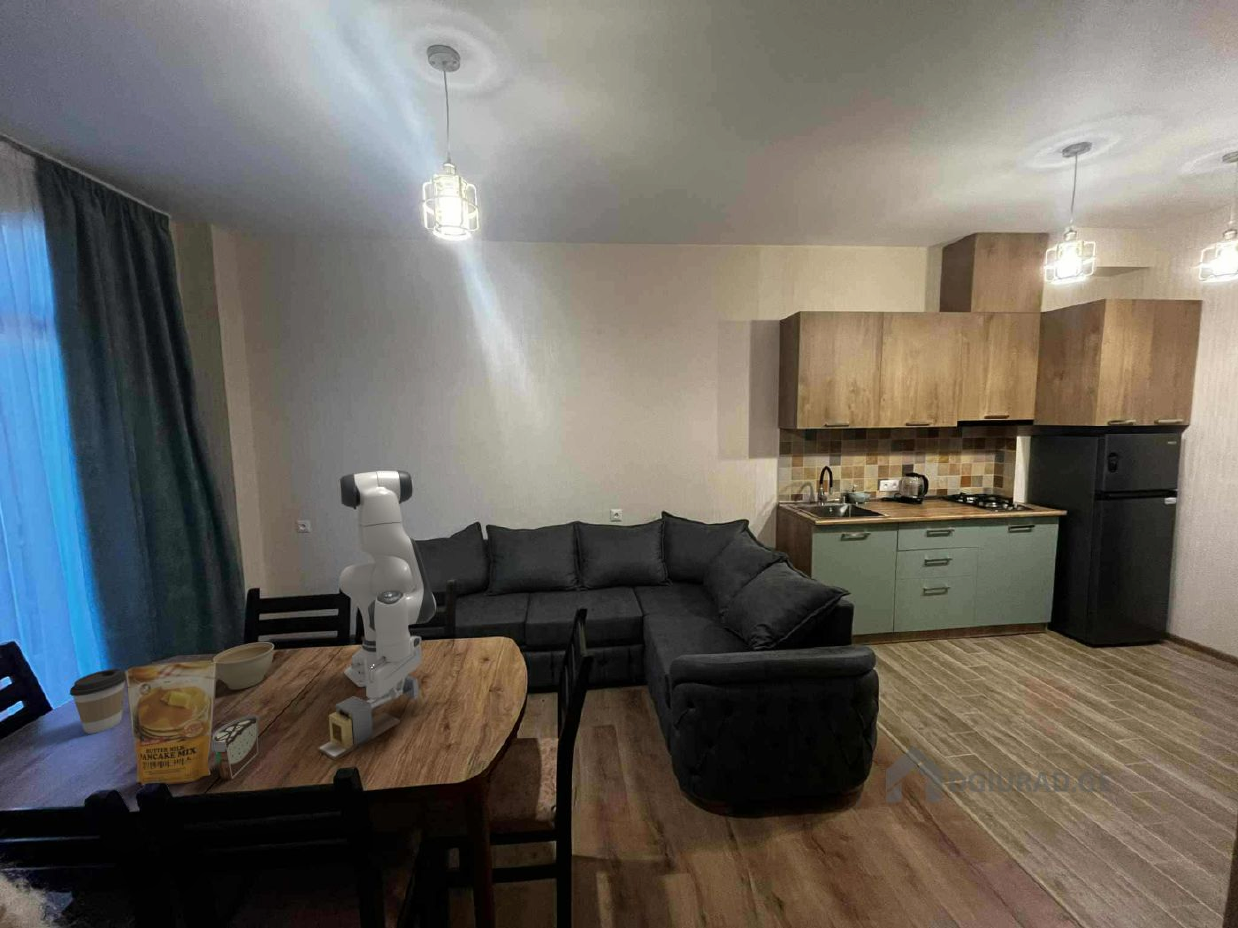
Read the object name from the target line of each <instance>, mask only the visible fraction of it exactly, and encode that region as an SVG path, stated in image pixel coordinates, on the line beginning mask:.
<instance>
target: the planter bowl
mask: <svg viewBox="0 0 1238 928" xmlns="http://www.w3.org/2000/svg"><path fill="white" fill-rule="evenodd" d="M274 649H275V645H274V644H273V643H272V642H268V641H267V642H266V641H261V642H260V641H259V642H251V643H246V644H242V645H239V646H238V645H237V646H235V647H231V648H229V649H226V650H224V651H222V652H220V653H218V654H217V655H215V656H214V657H213V660H212V661H213V662H217V666H218V675H217V677H218V678H219V679H220V681H222V682H223V683H224V684H226V685H227V687H228V689H229V690H243V689H247V688H250V687H254V686H256V685H257V684H260V683H261V682H262V681H264V679H265V675H266V674H267V672H268V671H269V669H270V667H271V665H272V662H273V658H274Z"/></svg>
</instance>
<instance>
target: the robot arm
mask: <svg viewBox="0 0 1238 928" xmlns="http://www.w3.org/2000/svg"><path fill="white" fill-rule="evenodd" d="M414 490H415V484H414V480H413V478H412V476H411V474H410V473H409V472H408V471H405V470H396V471H394V470H375V471H368V472H361V473H355V474H354V473H350V474H346V475H345V474H344V475H343V476H341V478H340V479H339V482H338V484H337V488H336V493H337V496H338V497H337V498H338V499H339V501H340V504H341V505H343V506H345V507H349V508H353V510H357V534H358V546H359V548H360V549H361V551H362V552H364V553H366V554H368V555H370V556H371V558H373V560H374V562H366V563H365V562H362V563H357V564H353V565H348V566H346V567H345V568H344V569H343V570H342V571H341V573H340V575H339V579H338V586H339V589H340V591H341V592H342V593H343V594H345V595H346V596H348V597H349V598H350V599H351V600H352V601H353V603H355V605H356V606H357V607H358V609H359V611H360V614H361V616H362V617H361V618H362V621H363V629H364V635H363V636H361V641H362V646H361V647H360V648H359V650H357V651H356V652H355V653H354V654H353V655H352V657H351V662H350V666H349V667H348V668H346V669H345V670H344V674H343V675H345V676H346V678H348V679H349V680H351V682H353V683H354V684H355V685H356V686H357V687H359V688H365V694H366V697H367V698H368V699H369V700H370V699H379V698H381V697H382V696H383V695H384V694H386V693H387V692H388V691H389V692H390V693H391V698H392V699H393V700H397V699H398V698H399V697H400V696H402V695H401V694H402V693H403V685H404V682H405V677H406V676H407V675H410V674H411V673H412V672H413V671H414V670H415V669H417V668H418V667H419V666H421V663H422V657H423V655H422V646H421V643H422V637H421V636H419V635H418V636H417V635H411V634H410V631H409V626H410V625H420V624H426V623H429V621H430V620H431V619H432V618H433V617H434V616H435V614H436V613H437V612H436V611H437V603H436V599H435V596H434V594H433V592H432V589H431V587H430V586H431V585H430V584H429V581H428V576H427V573H426V569H425V566H424V562H423V560H422V556H421V552H420V549H419V547H418V546H419V545H418V544H417V542H416V540H415V539H414V538H412V537H409V536H408V534H407V533H406V532H405V529H404V526H403V517H402V510H401V506H400V505H401V504H402V503H405V502H407V501H409V500H410V499H411V498H412V497H413V493H414Z"/></svg>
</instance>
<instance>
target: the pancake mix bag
mask: <svg viewBox="0 0 1238 928" xmlns="http://www.w3.org/2000/svg"><path fill="white" fill-rule="evenodd" d="M123 673H125V677H126V680H125V683H126V692H127V697H128V707H129V708H128V710H129V717H130V727H131V730H132V735H133V741H134V749H135V753H136V759H137V764H136V766H137V767H136V768H137V769H136V770H137V776H136V783H141V786H142V787H144V786H143V785H145V784H147V783H151V782H166V783H167V784H168V785H174V784H187V783H194V782H196V781H199V780H200V779H202V778H203V777H207V776H210V775H211V771H210V768H209V766H208V763H209V762H208V761H209V753H210V749H211V739H212V738H211V735H212V730H213V729H212V728H213V718H214V709H215V703H216V689H217V687H216V685H217V680H218V679H217V678H218V666H217V662H213V660H212V659H197V660H189V661H178V662H177V661H176V662H175V661H174V662H166V663H157V664H156V663H155V664H147V665H140V666H139V665H138V666H134V667H131V668H128V669H127V670H125V671H123Z"/></svg>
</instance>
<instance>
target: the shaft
mask: <svg viewBox="0 0 1238 928" xmlns="http://www.w3.org/2000/svg"><path fill="white" fill-rule="evenodd" d="M400 696H405V697H408V698H409V699H411V700H416V699H418V698H419V678H417V677H414V676H412V675H410V674H408V675H407V676H406V677H405V682H404V685H403V693H402V694H401V695H400ZM392 700H394V699H392V698H391V693H390V692H389V691H388V692H387V693H386V694H384V695H383V696H382V697H381V698H379V699H370V698H369V699H368V700H366V701H367V702H369V703H371V712H372V711H374V710H376V709H377V708H380V707H381V706H384V705H385V704H387V703H390V702H391V701H392Z"/></svg>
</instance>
